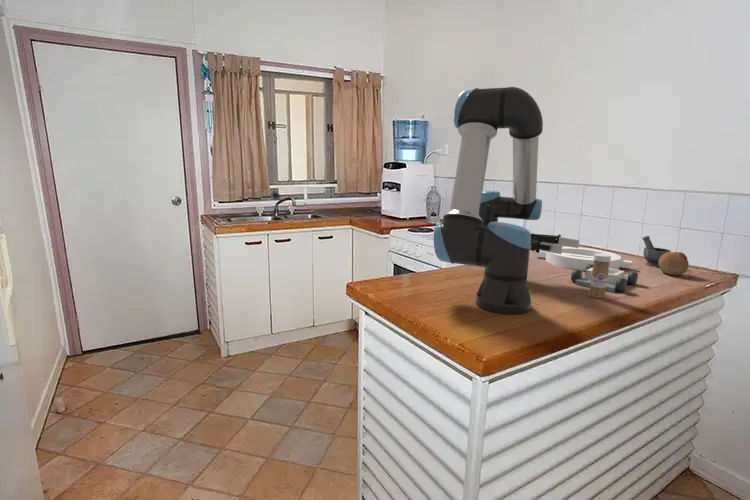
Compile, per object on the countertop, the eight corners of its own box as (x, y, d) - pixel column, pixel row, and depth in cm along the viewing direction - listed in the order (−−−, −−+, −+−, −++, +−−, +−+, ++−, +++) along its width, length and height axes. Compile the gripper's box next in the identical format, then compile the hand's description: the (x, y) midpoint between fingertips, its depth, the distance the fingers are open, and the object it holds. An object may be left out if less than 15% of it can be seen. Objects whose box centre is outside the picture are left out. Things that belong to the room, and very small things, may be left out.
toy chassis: (619, 294, 133) (622, 280, 132) (569, 282, 145) (570, 270, 144) (637, 283, 147) (639, 270, 146) (590, 273, 158) (591, 262, 157)
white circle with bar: (532, 257, 186) (533, 247, 185) (585, 256, 192) (586, 246, 191) (576, 273, 159) (577, 261, 158) (636, 271, 166) (638, 259, 165)
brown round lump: (680, 282, 161) (699, 261, 157) (670, 279, 155) (689, 257, 152) (658, 268, 168) (675, 248, 164) (648, 265, 162) (665, 243, 159)
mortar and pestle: (672, 266, 174) (677, 238, 172) (663, 269, 169) (668, 240, 166) (643, 261, 183) (647, 234, 181) (633, 263, 178) (638, 236, 175)
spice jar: (592, 298, 128) (598, 255, 125) (586, 293, 132) (591, 252, 130) (607, 299, 128) (614, 256, 125) (600, 294, 132) (606, 253, 129)
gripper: (525, 242, 159) (583, 252, 144) (490, 252, 142) (552, 264, 127) (527, 223, 157) (586, 231, 142) (492, 230, 140) (555, 240, 125)
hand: (570, 246), depth 135 cm, fingers open, 13 cm apart
